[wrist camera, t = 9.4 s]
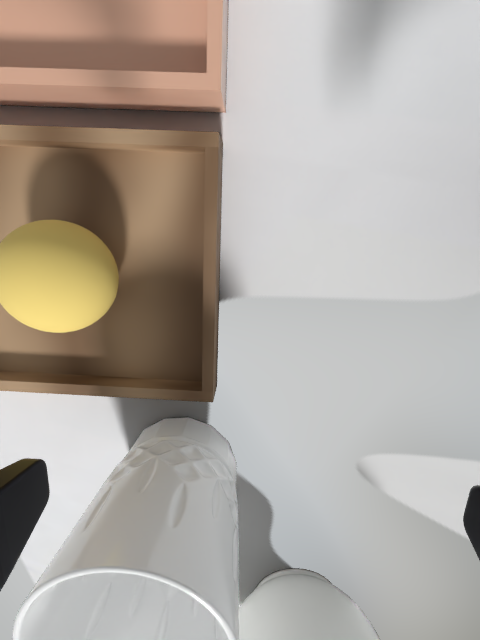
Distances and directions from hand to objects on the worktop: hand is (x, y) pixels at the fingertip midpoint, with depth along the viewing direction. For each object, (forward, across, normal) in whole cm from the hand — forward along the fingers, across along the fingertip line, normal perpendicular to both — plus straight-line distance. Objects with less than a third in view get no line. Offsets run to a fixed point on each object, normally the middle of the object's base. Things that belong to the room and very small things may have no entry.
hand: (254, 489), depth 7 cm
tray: (+12, +9, -3) cm, 15 cm away
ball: (+11, +9, -3) cm, 15 cm away
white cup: (+12, +4, +9) cm, 16 cm away
